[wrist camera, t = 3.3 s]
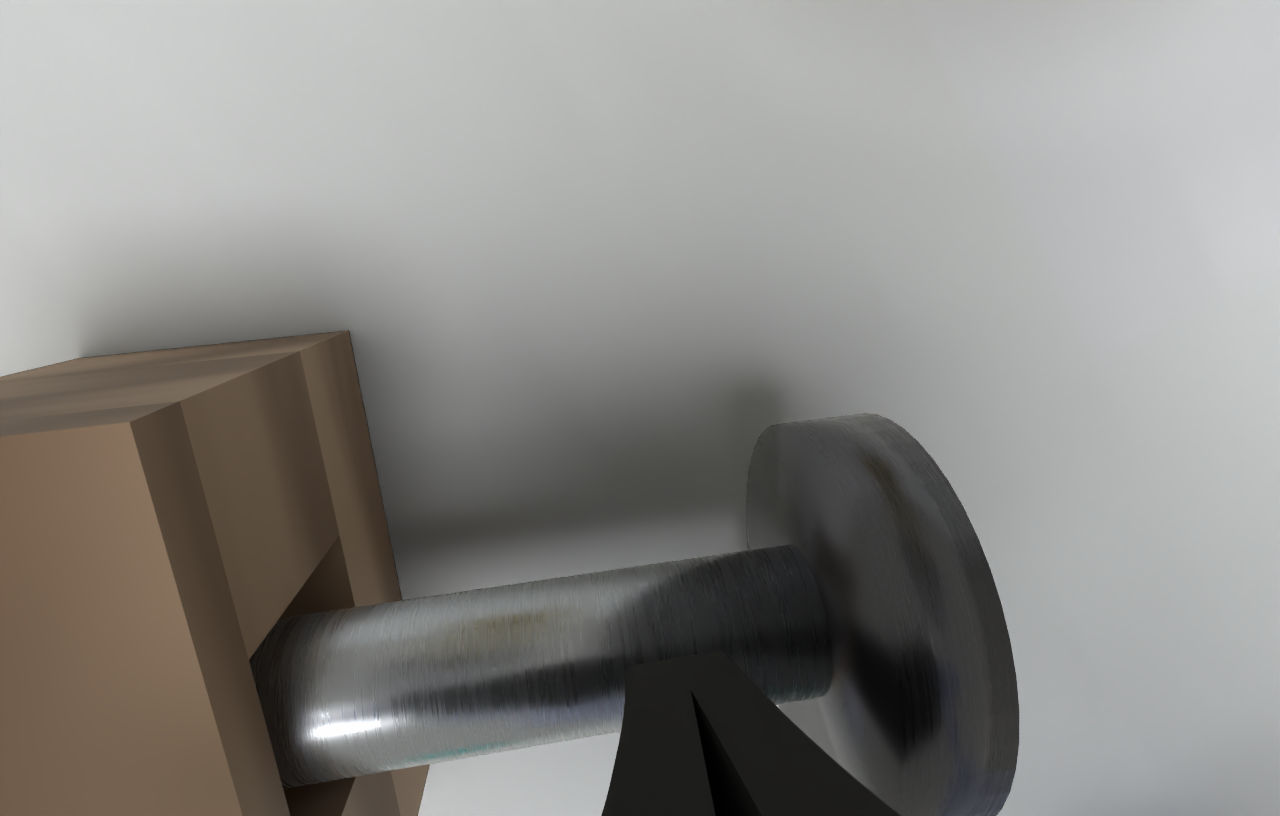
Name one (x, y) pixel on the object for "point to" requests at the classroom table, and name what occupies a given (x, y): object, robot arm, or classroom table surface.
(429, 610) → the shaft
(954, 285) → the classroom table surface
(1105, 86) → the classroom table surface
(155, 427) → the bearing block
